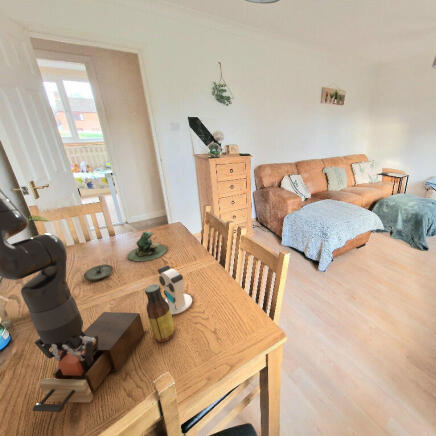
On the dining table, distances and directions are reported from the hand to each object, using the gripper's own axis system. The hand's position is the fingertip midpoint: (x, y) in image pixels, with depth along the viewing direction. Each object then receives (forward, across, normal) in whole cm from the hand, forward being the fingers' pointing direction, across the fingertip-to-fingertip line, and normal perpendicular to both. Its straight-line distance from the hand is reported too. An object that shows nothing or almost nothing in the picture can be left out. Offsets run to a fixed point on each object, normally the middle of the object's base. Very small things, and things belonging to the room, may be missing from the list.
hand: (78, 366), depth 62 cm
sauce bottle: (+7, -13, -16) cm, 22 cm away
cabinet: (+7, 0, -10) cm, 13 cm away
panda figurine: (+7, -10, -32) cm, 34 cm away
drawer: (+6, 0, +1) cm, 6 cm away
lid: (+7, +32, -47) cm, 58 cm away
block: (0, 0, 0) cm, 0 cm away
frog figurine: (+7, +22, -68) cm, 72 cm away
